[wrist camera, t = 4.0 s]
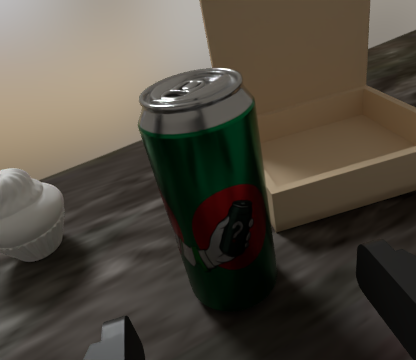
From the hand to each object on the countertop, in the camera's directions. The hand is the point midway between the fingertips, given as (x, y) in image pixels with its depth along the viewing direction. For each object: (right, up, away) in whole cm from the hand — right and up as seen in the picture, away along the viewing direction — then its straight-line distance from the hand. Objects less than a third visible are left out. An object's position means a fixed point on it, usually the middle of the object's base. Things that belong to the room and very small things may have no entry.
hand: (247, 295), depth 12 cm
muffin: (-14, -2, +16) cm, 21 cm away
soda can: (0, -2, +9) cm, 9 cm away
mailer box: (+9, +5, +17) cm, 20 cm away
